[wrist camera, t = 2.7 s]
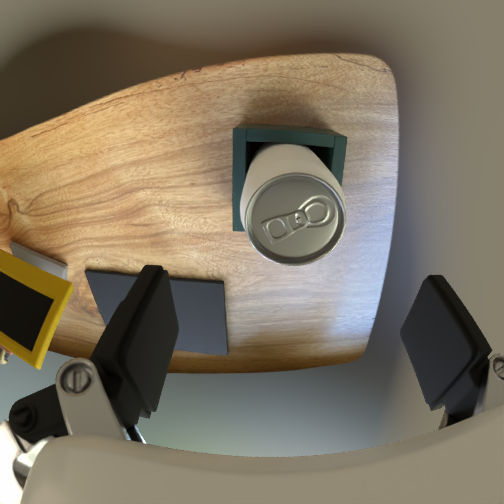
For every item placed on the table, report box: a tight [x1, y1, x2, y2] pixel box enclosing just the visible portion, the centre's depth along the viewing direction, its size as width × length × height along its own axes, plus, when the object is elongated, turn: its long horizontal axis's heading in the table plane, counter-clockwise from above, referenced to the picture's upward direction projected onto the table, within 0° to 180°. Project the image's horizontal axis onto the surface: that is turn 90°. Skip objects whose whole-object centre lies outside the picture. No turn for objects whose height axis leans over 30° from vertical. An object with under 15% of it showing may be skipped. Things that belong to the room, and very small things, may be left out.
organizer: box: [233, 124, 347, 232], centre depth 23 cm, size 9×9×5 cm
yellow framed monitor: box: [0, 241, 74, 369], centre depth 27 cm, size 20×8×16 cm, turn 73°
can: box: [240, 142, 346, 266], centre depth 20 cm, size 6×6×12 cm
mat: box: [85, 270, 228, 355], centre depth 36 cm, size 20×14×1 cm
